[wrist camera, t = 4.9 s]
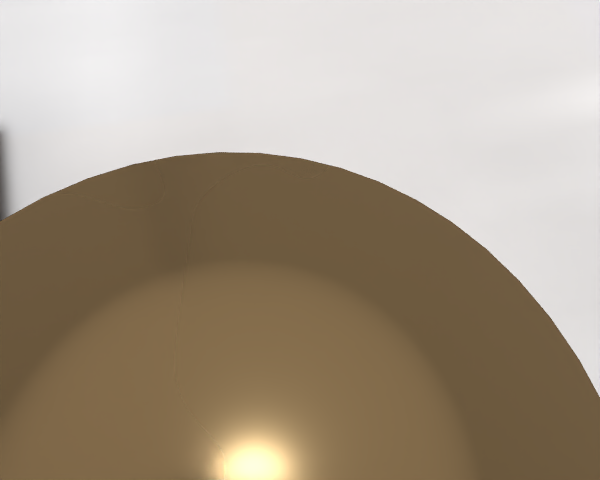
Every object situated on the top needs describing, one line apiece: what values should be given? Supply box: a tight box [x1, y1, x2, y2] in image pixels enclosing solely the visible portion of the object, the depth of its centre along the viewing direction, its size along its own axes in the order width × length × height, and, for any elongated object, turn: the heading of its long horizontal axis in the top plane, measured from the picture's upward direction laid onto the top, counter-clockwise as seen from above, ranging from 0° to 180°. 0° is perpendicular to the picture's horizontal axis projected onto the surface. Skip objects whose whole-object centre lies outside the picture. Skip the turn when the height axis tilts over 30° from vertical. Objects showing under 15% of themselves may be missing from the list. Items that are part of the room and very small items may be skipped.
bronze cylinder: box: [0, 152, 600, 480], centre depth 8 cm, size 4×4×12 cm
